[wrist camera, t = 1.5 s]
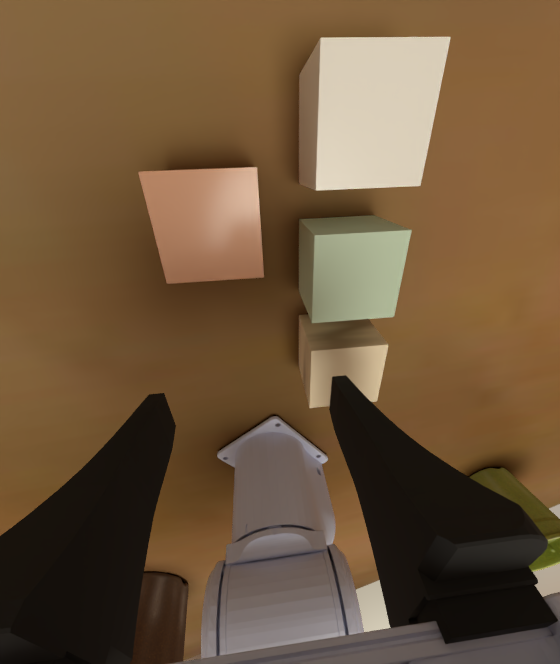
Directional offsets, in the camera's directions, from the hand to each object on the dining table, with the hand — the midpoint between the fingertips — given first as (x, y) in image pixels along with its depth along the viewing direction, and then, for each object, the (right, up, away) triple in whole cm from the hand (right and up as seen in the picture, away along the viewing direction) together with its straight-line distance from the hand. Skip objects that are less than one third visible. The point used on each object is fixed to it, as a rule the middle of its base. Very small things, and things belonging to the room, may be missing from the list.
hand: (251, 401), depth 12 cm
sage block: (+5, +8, +7) cm, 12 cm away
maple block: (+5, +2, +11) cm, 12 cm away
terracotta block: (-3, +10, +5) cm, 12 cm away
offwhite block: (+5, +14, +4) cm, 16 cm away
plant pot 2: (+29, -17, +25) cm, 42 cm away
